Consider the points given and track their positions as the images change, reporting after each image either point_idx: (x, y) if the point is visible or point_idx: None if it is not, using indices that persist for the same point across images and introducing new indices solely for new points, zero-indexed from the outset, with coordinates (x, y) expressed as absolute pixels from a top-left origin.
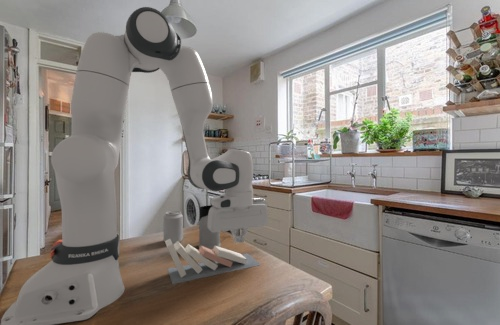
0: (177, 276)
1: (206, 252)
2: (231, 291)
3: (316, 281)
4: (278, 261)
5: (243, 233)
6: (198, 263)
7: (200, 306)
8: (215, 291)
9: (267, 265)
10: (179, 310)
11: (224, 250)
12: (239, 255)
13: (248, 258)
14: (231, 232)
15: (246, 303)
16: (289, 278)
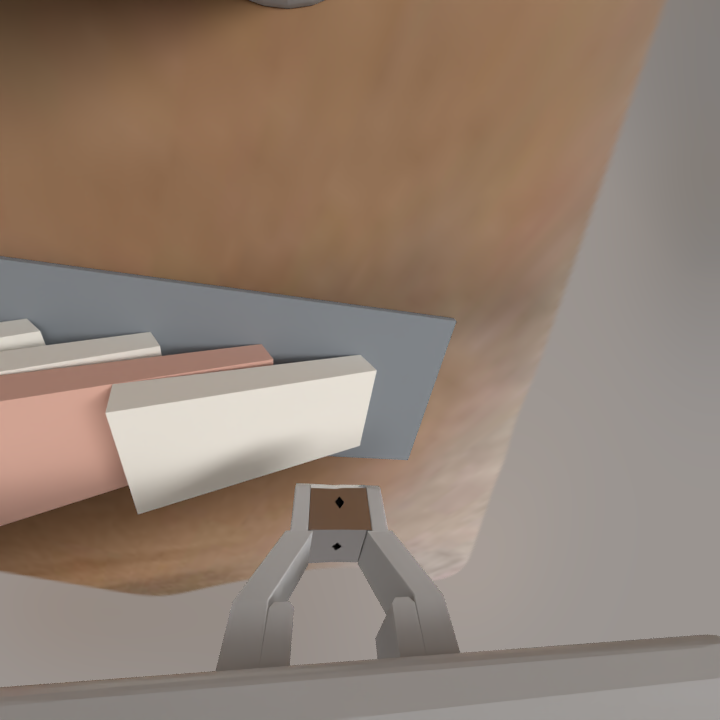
0: None
1: (6, 518)
2: (201, 533)
3: (457, 568)
4: (497, 453)
5: (379, 594)
6: (40, 342)
7: (81, 553)
8: (143, 518)
9: (430, 460)
10: (6, 549)
11: (208, 451)
12: (331, 428)
13: (405, 384)
14: (240, 603)
15: (223, 575)
16: (413, 540)
